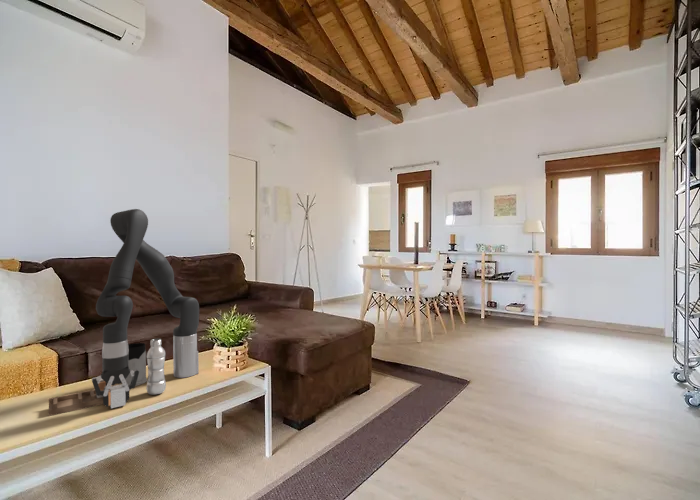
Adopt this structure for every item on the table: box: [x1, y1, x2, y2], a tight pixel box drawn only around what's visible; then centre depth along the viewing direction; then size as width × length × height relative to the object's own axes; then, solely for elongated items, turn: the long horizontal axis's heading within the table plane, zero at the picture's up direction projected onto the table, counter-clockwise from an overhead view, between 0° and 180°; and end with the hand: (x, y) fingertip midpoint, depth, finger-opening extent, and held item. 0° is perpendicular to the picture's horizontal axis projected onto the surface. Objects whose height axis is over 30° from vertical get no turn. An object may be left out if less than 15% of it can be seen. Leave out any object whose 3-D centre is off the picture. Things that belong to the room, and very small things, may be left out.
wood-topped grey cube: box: [108, 383, 127, 409], centre depth 124 cm, size 4×5×6 cm
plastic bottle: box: [146, 338, 167, 396], centre depth 135 cm, size 6×7×20 cm
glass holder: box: [125, 342, 148, 387], centre depth 146 cm, size 9×14×15 cm, turn 112°
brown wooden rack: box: [47, 379, 120, 417], centre depth 126 cm, size 20×7×8 cm, turn 129°
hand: (116, 403), depth 124 cm, fingers closed on wood-topped grey cube, 4 cm apart
